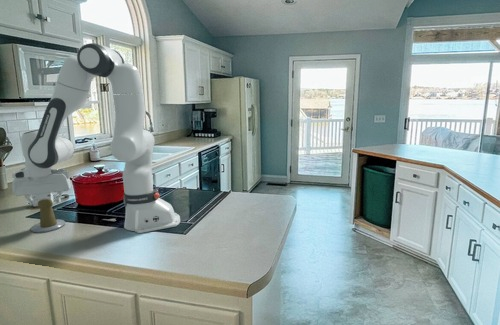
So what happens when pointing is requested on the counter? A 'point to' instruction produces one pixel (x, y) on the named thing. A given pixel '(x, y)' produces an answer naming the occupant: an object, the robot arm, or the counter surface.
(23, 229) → the counter surface
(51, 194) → the skincare box
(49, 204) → the cork
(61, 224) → the coaster
